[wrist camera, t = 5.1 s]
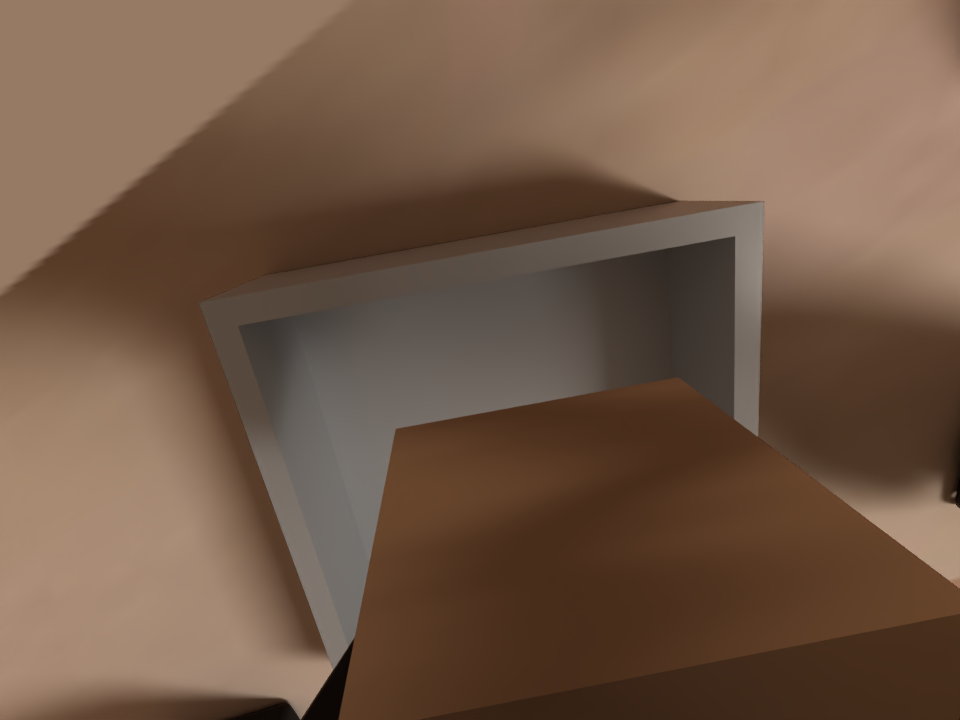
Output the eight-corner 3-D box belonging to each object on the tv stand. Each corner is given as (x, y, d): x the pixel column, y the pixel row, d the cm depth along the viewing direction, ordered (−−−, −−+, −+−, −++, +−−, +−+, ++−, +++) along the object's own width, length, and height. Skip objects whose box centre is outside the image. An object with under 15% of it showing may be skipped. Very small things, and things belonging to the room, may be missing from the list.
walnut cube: (677, 377, 8) (986, 609, 4) (684, 597, 10) (902, 954, 5) (395, 428, 8) (335, 735, 4) (449, 642, 10) (455, 1046, 5)
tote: (679, 200, 18) (764, 201, 13) (691, 604, 24) (751, 703, 19) (264, 275, 18) (198, 302, 13) (386, 662, 24) (372, 775, 19)
